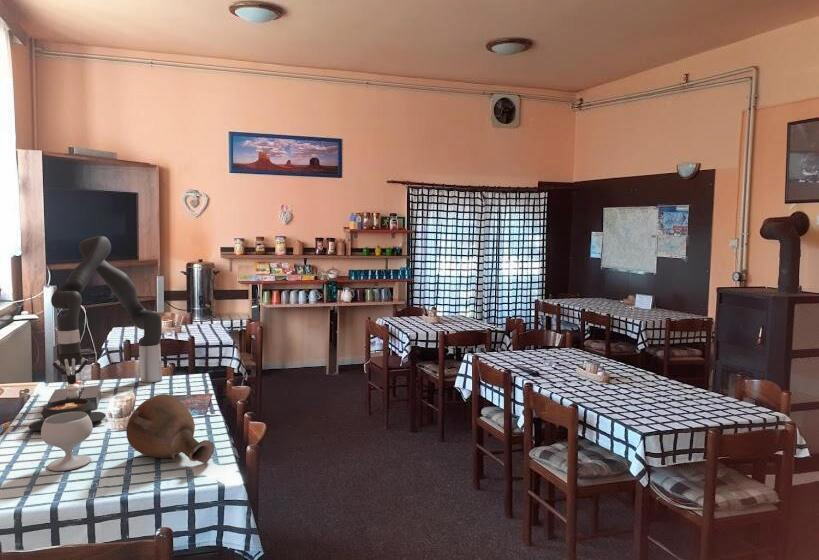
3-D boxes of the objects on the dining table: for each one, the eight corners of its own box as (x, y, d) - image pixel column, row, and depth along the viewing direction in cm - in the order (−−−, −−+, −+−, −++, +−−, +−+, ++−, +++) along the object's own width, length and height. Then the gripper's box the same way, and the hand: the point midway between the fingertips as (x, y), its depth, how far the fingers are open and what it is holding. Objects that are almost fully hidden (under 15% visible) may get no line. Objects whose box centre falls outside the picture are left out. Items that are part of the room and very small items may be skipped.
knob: (81, 397, 252) (80, 383, 251) (79, 401, 247) (78, 386, 247) (67, 399, 250) (66, 384, 249) (65, 402, 245) (64, 387, 245)
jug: (118, 455, 200) (178, 492, 184) (109, 402, 193) (170, 436, 177) (173, 426, 215) (232, 457, 200) (166, 376, 208) (226, 404, 193)
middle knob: (82, 393, 258) (82, 379, 258) (81, 396, 254) (80, 382, 253) (69, 394, 257) (68, 380, 256) (67, 397, 252) (66, 383, 251)
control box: (101, 396, 268) (100, 385, 267) (97, 409, 249) (96, 397, 249) (56, 401, 262) (55, 389, 261) (48, 414, 243) (47, 402, 243)
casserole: (29, 439, 216) (27, 416, 215) (29, 425, 231) (27, 403, 231) (108, 426, 228) (107, 404, 228) (103, 413, 244) (102, 392, 243)
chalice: (83, 452, 203) (80, 407, 201) (102, 462, 194) (99, 415, 192) (35, 466, 192) (32, 418, 191) (54, 477, 183) (51, 427, 182)
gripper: (89, 338, 252) (91, 380, 254) (51, 340, 247) (54, 383, 249) (87, 341, 245) (89, 384, 247) (48, 344, 240) (51, 388, 242)
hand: (72, 384), depth 248 cm, fingers closed
